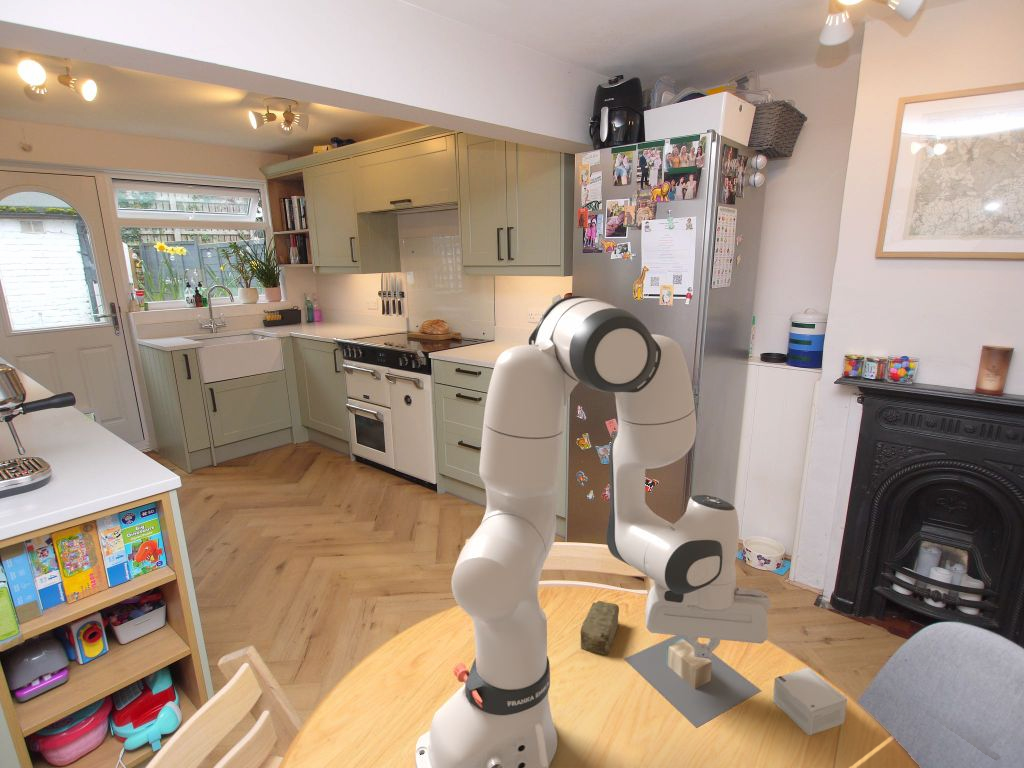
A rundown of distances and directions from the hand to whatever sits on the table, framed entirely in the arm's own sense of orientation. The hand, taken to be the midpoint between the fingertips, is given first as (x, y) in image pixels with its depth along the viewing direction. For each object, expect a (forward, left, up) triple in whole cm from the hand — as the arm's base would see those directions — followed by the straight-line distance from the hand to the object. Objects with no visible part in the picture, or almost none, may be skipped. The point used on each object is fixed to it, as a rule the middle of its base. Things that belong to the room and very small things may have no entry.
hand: (702, 655), depth 94 cm
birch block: (0, 0, -4) cm, 4 cm away
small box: (+11, -13, -6) cm, 18 cm away
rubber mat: (0, +3, -6) cm, 7 cm away
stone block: (-8, +19, -6) cm, 22 cm away
